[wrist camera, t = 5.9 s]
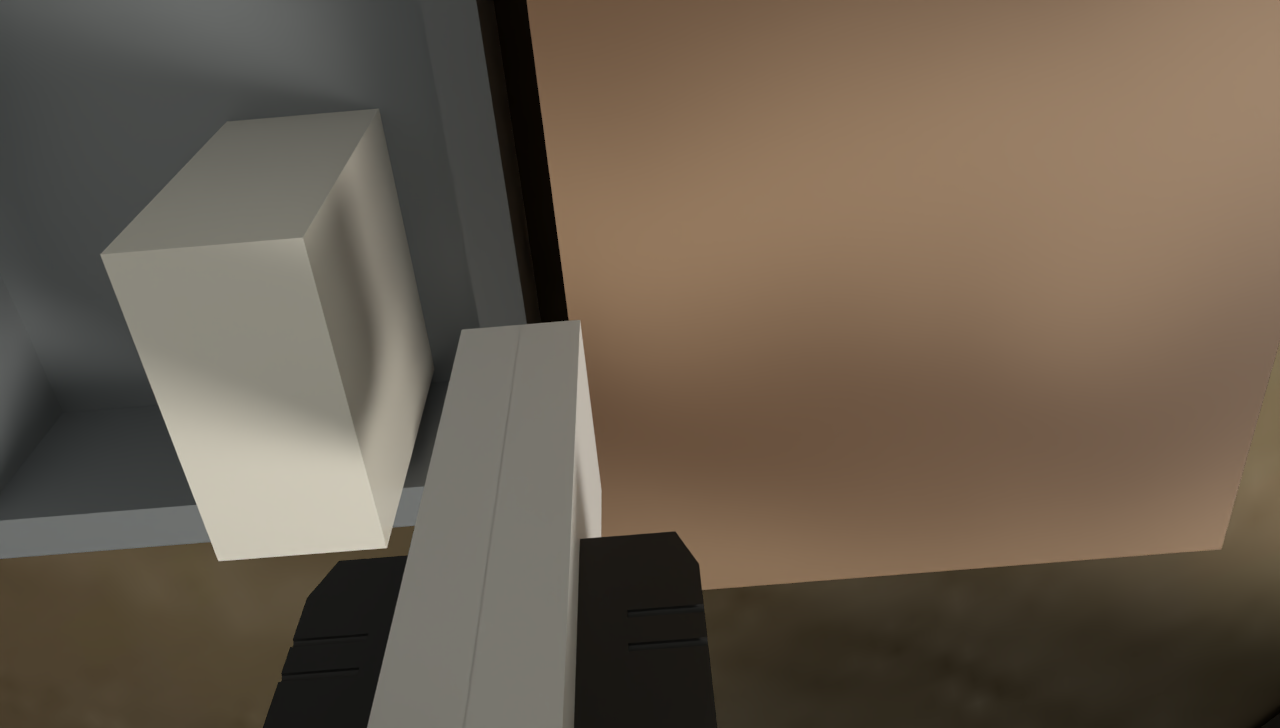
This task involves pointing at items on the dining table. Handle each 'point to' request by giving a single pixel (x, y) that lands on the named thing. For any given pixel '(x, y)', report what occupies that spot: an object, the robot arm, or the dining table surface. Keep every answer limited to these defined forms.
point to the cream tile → (282, 332)
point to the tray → (149, 159)
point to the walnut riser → (917, 273)
